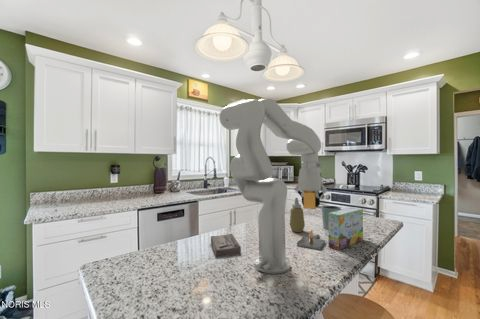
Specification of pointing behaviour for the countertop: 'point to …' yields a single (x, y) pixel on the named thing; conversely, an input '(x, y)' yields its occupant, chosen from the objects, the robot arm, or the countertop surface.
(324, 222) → the green cup
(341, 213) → the snack box
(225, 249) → the box
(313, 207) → the cube with dome knob
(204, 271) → the countertop surface
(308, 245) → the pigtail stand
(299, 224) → the squeeze bottle
